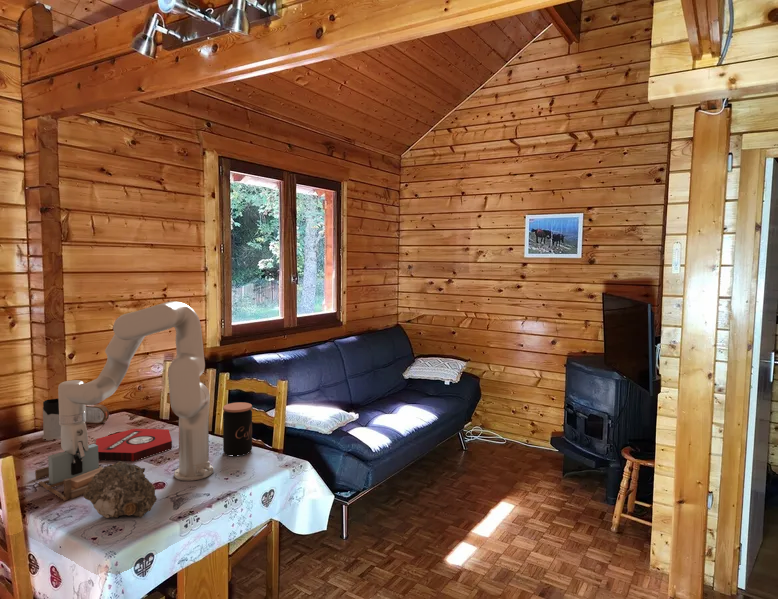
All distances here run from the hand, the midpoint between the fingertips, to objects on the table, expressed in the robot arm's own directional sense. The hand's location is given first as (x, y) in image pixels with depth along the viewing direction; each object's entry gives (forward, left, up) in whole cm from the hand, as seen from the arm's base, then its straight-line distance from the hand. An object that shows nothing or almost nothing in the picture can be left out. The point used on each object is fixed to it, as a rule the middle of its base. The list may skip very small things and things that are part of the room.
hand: (74, 471), depth 169 cm
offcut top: (-10, 0, -1) cm, 11 cm away
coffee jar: (-23, -48, -2) cm, 53 cm away
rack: (-3, 0, -2) cm, 4 cm away
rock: (-37, 0, -2) cm, 37 cm away
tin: (+57, -30, -2) cm, 65 cm away
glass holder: (+48, -15, -2) cm, 51 cm away
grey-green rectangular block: (0, 0, -2) cm, 2 cm away
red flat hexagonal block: (+12, -26, -3) cm, 29 cm away
